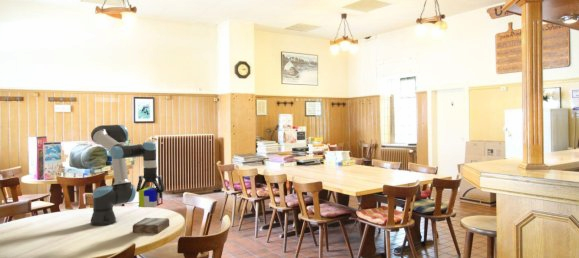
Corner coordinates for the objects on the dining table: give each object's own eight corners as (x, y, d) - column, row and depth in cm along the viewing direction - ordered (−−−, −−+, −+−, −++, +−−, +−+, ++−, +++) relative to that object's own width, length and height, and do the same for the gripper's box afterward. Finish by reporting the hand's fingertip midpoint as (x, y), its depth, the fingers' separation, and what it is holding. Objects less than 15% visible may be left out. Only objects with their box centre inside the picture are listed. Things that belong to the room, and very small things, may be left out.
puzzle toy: (154, 207, 241) (153, 190, 240) (139, 206, 243) (138, 190, 242) (162, 203, 251) (162, 187, 250) (148, 203, 253) (147, 187, 252)
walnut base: (132, 232, 241) (132, 224, 240) (145, 225, 256) (145, 217, 256) (158, 233, 239) (158, 225, 238) (169, 225, 255) (169, 218, 254)
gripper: (129, 168, 244) (130, 204, 244) (165, 167, 241) (166, 204, 242) (135, 166, 251) (136, 201, 252) (170, 166, 248) (171, 201, 249)
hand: (151, 203), depth 247 cm, fingers closed on puzzle toy, 10 cm apart
